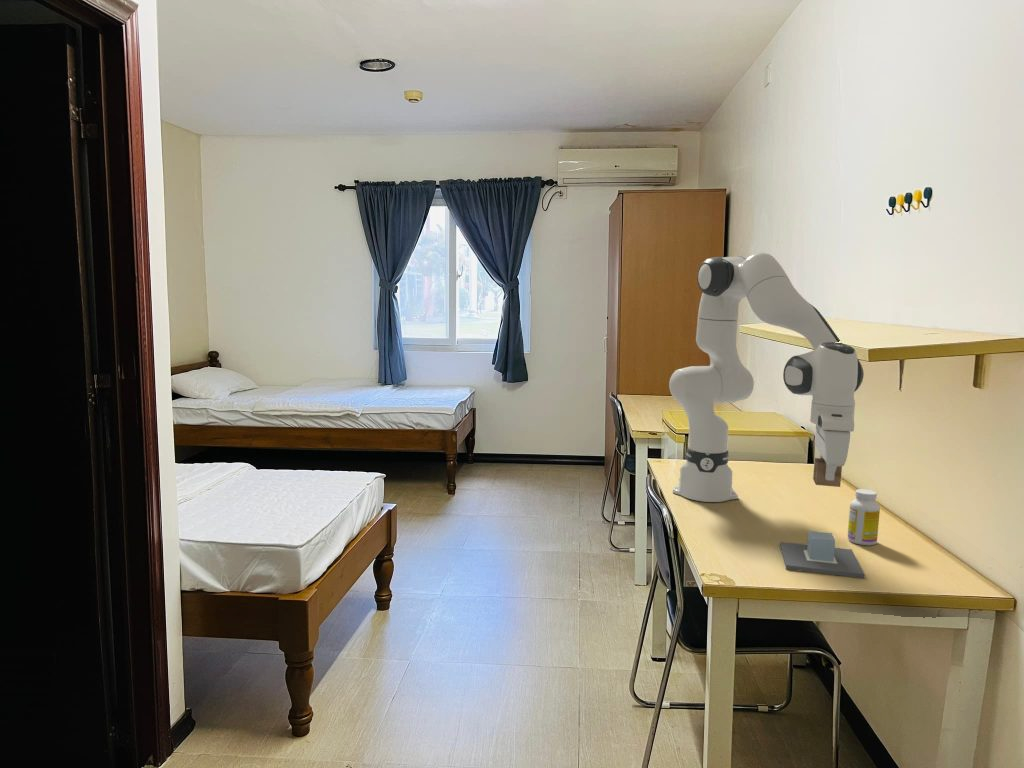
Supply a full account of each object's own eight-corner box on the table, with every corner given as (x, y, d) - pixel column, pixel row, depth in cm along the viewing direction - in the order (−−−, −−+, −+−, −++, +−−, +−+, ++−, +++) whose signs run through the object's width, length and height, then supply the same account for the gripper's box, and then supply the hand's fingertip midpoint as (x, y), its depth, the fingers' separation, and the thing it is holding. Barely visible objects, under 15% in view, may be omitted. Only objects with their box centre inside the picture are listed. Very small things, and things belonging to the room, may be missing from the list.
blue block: (806, 551, 168) (808, 530, 167) (829, 553, 167) (831, 533, 166) (809, 559, 163) (811, 538, 163) (833, 561, 162) (835, 540, 161)
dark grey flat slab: (779, 545, 174) (780, 541, 174) (851, 553, 170) (851, 549, 170) (786, 569, 160) (786, 564, 160) (864, 578, 156) (864, 573, 156)
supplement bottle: (880, 541, 178) (885, 492, 176) (871, 548, 174) (876, 497, 172) (852, 534, 183) (857, 486, 181) (842, 541, 178) (847, 491, 176)
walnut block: (813, 479, 165) (814, 457, 165) (836, 481, 164) (838, 459, 163) (816, 484, 161) (817, 463, 160) (840, 487, 159) (842, 465, 159)
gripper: (810, 407, 171) (806, 463, 173) (823, 423, 151) (818, 486, 153) (839, 408, 169) (834, 465, 171) (856, 425, 150) (850, 489, 152)
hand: (826, 475), depth 162 cm, fingers closed on walnut block, 5 cm apart
